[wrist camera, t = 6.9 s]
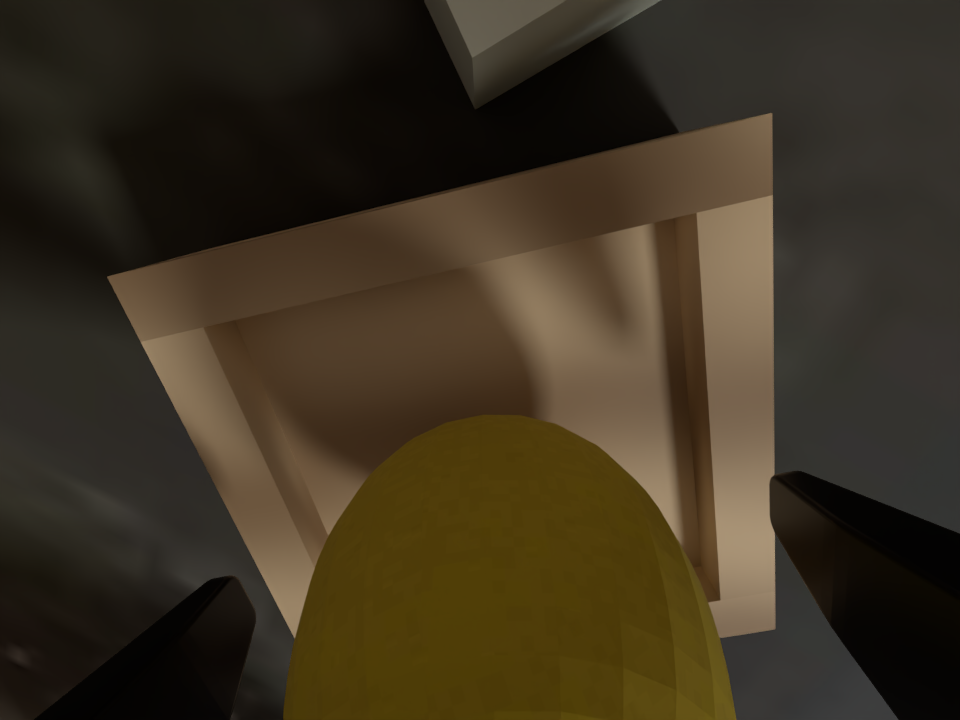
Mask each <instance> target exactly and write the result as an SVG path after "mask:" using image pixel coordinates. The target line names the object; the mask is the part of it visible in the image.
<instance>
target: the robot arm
mask: <svg viewBox="0 0 960 720" xmlns="http://www.w3.org/2000/svg"><path fill="white" fill-rule="evenodd" d="M769 504H770V521H771V524H772V527H773V530H774V532H775V534H776V535H777V537H778V539H779V540H780V542H781V544H782V545H783V547H784V549H785V550H786V552H787V554H788V555H789V557H790V559H791V561H792V562H793V564H794V566H795V567H796V569H797V571H798V572H799V574H800V576H801V577H802V579H803V581H804V583H805V584H806V586H807V588H808V589H809V591H810V593H811V594H812V596H813V598H814V599H815V601H816V603H817V604H818V606H819V608H820V610H821V611H822V613H823V614H824V616H825V618H826V619H827V621H828V622H829V624H830V626H831V627H832V628H833V630H834V631H835V633H836V634H837V636H838V637H839V638H840V640H841V641H842V643H843V644H844V646H845V647H846V648H847V650H848V651H849V652H850V654H851V655H852V656H853V658H854V659H855V661H856V662H857V663H858V665H859V666H860V667H861V669H862V670H863V672H864V673H865V674H866V676H867V677H868V678H869V680H870V681H871V683H872V684H873V685H874V687H875V688H876V689H877V691H878V692H879V693H880V695H881V696H882V698H883V699H884V700H885V702H886V703H887V704H888V706H889V707H890V709H891V710H892V711H893V713H894V714H895V715H896V717H897V718H898V720H960V534H959V533H957V532H954V531H952V530H949V529H947V528H944V527H942V526H939V525H937V524H934V523H932V522H929V521H926V520H924V519H921V518H919V517H916V516H914V515H911V514H909V513H906V512H904V511H901V510H899V509H896V508H894V507H891V506H888V505H886V504H883V503H881V502H878V501H876V500H873V499H871V498H868V497H866V496H863V495H861V494H858V493H856V492H853V491H850V490H848V489H845V488H843V487H840V486H838V485H835V484H833V483H830V482H828V481H825V480H823V479H820V478H817V477H815V476H812V475H810V474H807V473H805V472H802V471H791V472H786V473H781V474H776V475H774V476H772V477H771V479H770V483H769ZM255 623H256V612H255V608H254V606H253V604H252V602H251V600H250V598H249V597H248V595H247V593H246V591H245V589H244V587H243V586H242V584H241V582H240V580H239V579H238V578H237V577H235V576H224V577H219V578H214V579H211V580H209V581H207V582H206V583H204V584H203V585H202V586H201V587H199V588H198V589H197V590H196V591H194V592H193V593H192V594H191V595H189V596H188V597H187V598H186V599H184V600H183V601H182V602H181V603H179V604H178V605H177V606H176V607H174V608H173V609H172V610H171V611H169V612H168V613H167V614H166V615H164V616H163V617H162V618H161V619H159V620H158V621H157V622H156V623H154V624H153V625H152V626H151V627H149V628H148V629H147V630H146V631H144V632H143V633H142V634H141V635H139V636H138V637H137V638H136V639H134V640H133V641H132V642H131V643H129V644H128V645H127V646H126V647H124V648H123V649H122V650H121V651H119V652H118V653H117V654H116V655H114V656H113V657H112V658H110V659H109V660H108V661H107V662H105V663H104V664H103V665H102V666H100V667H99V668H98V669H97V670H95V671H94V672H93V673H92V674H90V675H89V676H88V677H87V678H85V679H84V680H83V681H82V682H80V683H79V684H78V685H77V686H75V687H74V688H73V689H72V690H70V691H69V692H68V693H67V694H65V695H64V696H63V697H62V698H60V699H59V700H58V701H57V702H55V703H54V704H53V705H52V706H50V707H49V708H48V709H47V710H45V711H44V712H43V713H42V714H40V715H39V716H38V717H37V718H35V719H34V720H230V718H231V714H232V711H233V707H234V704H235V700H236V696H237V693H238V689H239V685H240V681H241V677H242V674H243V670H244V666H245V662H246V658H247V654H248V651H249V647H250V643H251V639H252V635H253V632H254V628H255Z"/></svg>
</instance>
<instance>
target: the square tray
mask: <svg viewBox="0 0 960 720" xmlns="http://www.w3.org/2000/svg"><path fill="white" fill-rule="evenodd" d="M107 278H108V280H109V282H110V284H111V285H112V287H113V289H114V291H115V293H116V295H117V297H118V299H119V301H120V303H121V305H122V307H123V309H124V310H125V312H126V314H127V316H128V318H129V320H130V322H131V324H132V326H133V328H134V330H135V332H136V334H137V336H138V337H139V339H140V341H141V343H142V345H143V347H144V349H145V351H146V353H147V355H148V357H149V359H150V361H151V362H152V364H153V366H154V368H155V370H156V372H157V374H158V376H159V378H160V380H161V382H162V384H163V386H164V388H165V389H166V391H167V393H168V395H169V397H170V399H171V401H172V403H173V405H174V407H175V409H176V411H177V413H178V414H179V416H180V418H181V420H182V422H183V424H184V426H185V428H186V430H187V432H188V434H189V436H190V438H191V440H192V441H193V443H194V445H195V447H196V449H197V451H198V453H199V455H200V457H201V459H202V461H203V463H204V465H205V466H206V468H207V470H208V472H209V474H210V476H211V478H212V480H213V482H214V484H215V486H216V488H217V490H218V492H219V493H220V495H221V497H222V499H223V501H224V503H225V505H226V507H227V509H228V511H229V513H230V515H231V517H232V518H233V520H234V522H235V524H236V526H237V528H238V530H239V532H240V534H241V536H242V538H243V540H244V542H245V544H246V545H247V547H248V549H249V551H250V553H251V555H252V557H253V559H254V561H255V563H256V565H257V567H258V569H259V571H260V572H261V574H262V576H263V578H264V580H265V582H266V584H267V586H268V588H269V590H270V592H271V594H272V596H273V597H274V599H275V601H276V603H277V605H278V607H279V609H280V611H281V613H282V615H283V617H284V619H285V621H286V623H287V624H288V626H289V628H290V630H291V632H292V634H293V636H294V638H295V636H296V632H297V629H298V625H299V621H300V617H301V613H302V610H303V606H304V602H305V599H306V595H307V592H308V588H309V585H310V581H311V578H312V575H313V572H314V569H315V566H316V563H317V560H318V558H319V555H320V553H321V551H322V549H323V546H324V544H325V542H326V540H327V538H328V536H329V534H330V532H331V531H332V529H333V527H334V525H335V524H336V522H337V520H338V519H339V518H340V516H341V515H342V513H343V512H344V510H345V509H346V507H347V506H348V504H349V503H350V501H351V500H352V499H353V497H354V496H355V494H356V493H357V491H358V490H359V488H360V487H361V486H362V484H363V483H364V482H365V480H366V479H367V477H368V476H369V475H370V474H371V473H372V472H373V471H374V470H375V469H376V468H377V467H378V466H379V465H380V464H382V463H383V462H384V461H385V460H386V459H388V458H389V457H390V456H391V455H392V454H394V453H395V452H396V451H397V450H398V449H400V448H401V447H402V446H403V445H404V444H406V443H407V442H408V441H410V440H412V439H413V438H415V437H417V436H419V435H421V434H423V433H425V432H427V431H429V430H431V429H434V428H436V427H438V426H440V425H442V424H444V423H446V422H451V421H455V420H460V419H465V418H469V417H474V416H479V415H522V416H526V417H530V418H534V419H538V420H542V421H547V422H551V423H555V424H557V425H559V426H561V427H563V428H565V429H567V430H569V431H571V432H573V433H575V434H577V435H579V436H580V437H582V438H584V439H586V440H588V441H590V442H592V443H594V444H596V445H597V446H599V447H600V448H601V449H602V450H604V451H605V452H606V453H607V454H608V455H609V456H610V457H612V458H613V459H614V460H615V461H616V462H617V463H618V464H619V465H620V466H621V467H622V468H623V469H625V470H626V471H627V472H628V473H629V474H630V475H631V476H632V477H633V478H634V479H635V480H636V481H637V482H638V483H639V484H640V485H641V486H642V487H643V488H644V489H645V490H646V491H647V493H648V494H649V495H650V497H651V498H652V499H653V501H654V502H655V503H656V505H657V506H658V507H659V509H660V511H661V512H662V514H663V516H664V517H665V519H666V521H667V523H668V524H669V526H670V528H671V529H672V531H673V533H674V534H675V536H676V538H677V540H678V541H679V543H680V545H681V546H682V548H683V550H684V552H685V553H686V555H687V557H688V558H689V560H690V562H691V564H692V566H693V568H694V570H695V573H696V575H697V577H698V579H699V581H700V583H701V585H702V588H703V591H704V593H705V596H706V598H707V601H708V604H709V606H710V609H711V612H712V615H713V618H714V622H715V625H716V628H717V631H718V635H719V638H723V637H730V636H736V635H742V634H749V633H755V632H761V631H767V630H774V629H775V532H774V530H773V527H772V524H771V521H770V504H769V483H770V479H771V477H772V476H774V330H773V165H772V113H770V114H765V115H760V116H755V117H751V118H746V119H741V120H737V121H732V122H727V123H723V124H718V125H713V126H708V127H704V128H699V129H694V130H690V131H685V132H680V133H676V134H672V135H668V136H664V137H660V138H656V139H652V140H648V141H644V142H640V143H636V144H632V145H628V146H624V147H619V148H615V149H611V150H607V151H603V152H599V153H595V154H591V155H587V156H583V157H579V158H575V159H571V160H567V161H563V162H559V163H555V164H550V165H546V166H542V167H538V168H534V169H530V170H526V171H522V172H518V173H514V174H510V175H506V176H502V177H498V178H494V179H490V180H486V181H482V182H477V183H473V184H469V185H465V186H461V187H457V188H453V189H449V190H445V191H441V192H437V193H433V194H429V195H425V196H421V197H417V198H413V199H409V200H404V201H400V202H396V203H392V204H388V205H384V206H380V207H376V208H372V209H368V210H364V211H360V212H356V213H352V214H348V215H344V216H340V217H336V218H331V219H327V220H323V221H319V222H315V223H311V224H307V225H303V226H299V227H295V228H291V229H287V230H283V231H279V232H275V233H271V234H267V235H263V236H258V237H254V238H250V239H246V240H242V241H238V242H234V243H230V244H226V245H222V246H218V247H214V248H210V249H207V250H203V251H199V252H196V253H192V254H188V255H185V256H181V257H177V258H174V259H170V260H166V261H162V262H159V263H155V264H151V265H148V266H144V267H140V268H137V269H133V270H129V271H126V272H122V273H118V274H115V275H111V276H107Z"/></svg>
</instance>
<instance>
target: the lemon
mask: <svg viewBox="0 0 960 720" xmlns="http://www.w3.org/2000/svg"><path fill="white" fill-rule="evenodd" d="M283 720H736V715H735V709H734V704H733V698H732V692H731V687H730V681H729V675H728V671H727V666H726V662H725V658H724V654H723V650H722V646H721V642H720V638H719V635H718V631H717V628H716V625H715V622H714V618H713V615H712V612H711V609H710V606H709V604H708V601H707V598H706V596H705V593H704V591H703V588H702V585H701V583H700V581H699V579H698V577H697V575H696V573H695V570H694V568H693V566H692V564H691V562H690V560H689V558H688V557H687V555H686V553H685V552H684V550H683V548H682V546H681V545H680V543H679V541H678V540H677V538H676V536H675V534H674V533H673V531H672V529H671V528H670V526H669V524H668V523H667V521H666V519H665V517H664V516H663V514H662V512H661V511H660V509H659V507H658V506H657V505H656V503H655V502H654V501H653V499H652V498H651V497H650V495H649V494H648V493H647V491H646V490H645V489H644V488H643V487H642V486H641V485H640V484H639V483H638V482H637V481H636V480H635V479H634V478H633V477H632V476H631V475H630V474H629V473H628V472H627V471H626V470H625V469H623V468H622V467H621V466H620V465H619V464H618V463H617V462H616V461H615V460H614V459H613V458H612V457H610V456H609V455H608V454H607V453H606V452H605V451H604V450H602V449H601V448H600V447H599V446H597V445H596V444H594V443H592V442H590V441H588V440H586V439H584V438H582V437H580V436H579V435H577V434H575V433H573V432H571V431H569V430H567V429H565V428H563V427H561V426H559V425H557V424H555V423H551V422H547V421H542V420H538V419H534V418H530V417H526V416H522V415H479V416H474V417H469V418H465V419H460V420H455V421H451V422H446V423H444V424H442V425H440V426H438V427H436V428H434V429H431V430H429V431H427V432H425V433H423V434H421V435H419V436H417V437H415V438H413V439H412V440H410V441H408V442H407V443H406V444H404V445H403V446H402V447H401V448H400V449H398V450H397V451H396V452H395V453H394V454H392V455H391V456H390V457H389V458H388V459H386V460H385V461H384V462H383V463H382V464H380V465H379V466H378V467H377V468H376V469H375V470H374V471H373V472H372V473H371V474H370V475H369V476H368V477H367V479H366V480H365V482H364V483H363V484H362V486H361V487H360V488H359V490H358V491H357V493H356V494H355V496H354V497H353V499H352V500H351V501H350V503H349V504H348V506H347V507H346V509H345V510H344V512H343V513H342V515H341V516H340V518H339V519H338V520H337V522H336V524H335V525H334V527H333V529H332V531H331V532H330V534H329V536H328V538H327V540H326V542H325V544H324V546H323V549H322V551H321V553H320V555H319V558H318V560H317V563H316V566H315V569H314V572H313V575H312V578H311V581H310V585H309V588H308V592H307V595H306V599H305V602H304V606H303V610H302V613H301V617H300V621H299V625H298V629H297V632H296V636H295V640H294V644H293V650H292V655H291V661H290V666H289V672H288V678H287V686H286V694H285V702H284V712H283Z"/></svg>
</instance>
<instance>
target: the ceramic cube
mask: <svg viewBox="0 0 960 720" xmlns="http://www.w3.org/2000/svg"><path fill="white" fill-rule="evenodd" d="M659 1H660V0H424V2H425V4H426V6H427V8H428V10H429V13H430V15H431V17H432V19H433V21H434V23H435V25H436V28H437V30H438V32H439V34H440V36H441V38H442V40H443V42H444V45H445V47H446V49H447V51H448V53H449V55H450V57H451V59H452V62H453V64H454V66H455V68H456V70H457V72H458V74H459V76H460V79H461V81H462V83H463V85H464V87H465V89H466V91H467V93H468V96H469V98H470V100H471V102H472V104H473V106H474V108H475V110H476V109H477V108H479V107H481V106H482V105H484V104H486V103H488V102H489V101H491V100H493V99H494V98H496V97H498V96H499V95H501V94H503V93H505V92H506V91H508V90H510V89H511V88H513V87H515V86H516V85H518V84H520V83H521V82H523V81H525V80H527V79H528V78H530V77H532V76H533V75H535V74H537V73H538V72H540V71H542V70H544V69H545V68H547V67H549V66H550V65H552V64H554V63H555V62H557V61H559V60H560V59H562V58H564V57H566V56H567V55H569V54H571V53H572V52H574V51H576V50H577V49H579V48H581V47H582V46H584V45H586V44H588V43H589V42H591V41H593V40H594V39H596V38H598V37H599V36H601V35H603V34H605V33H606V32H608V31H610V30H611V29H613V28H615V27H616V26H618V25H620V24H621V23H623V22H625V21H627V20H628V19H630V18H632V17H633V16H635V15H637V14H638V13H640V12H642V11H644V10H645V9H647V8H649V7H650V6H652V5H654V4H655V3H657V2H659Z"/></svg>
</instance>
